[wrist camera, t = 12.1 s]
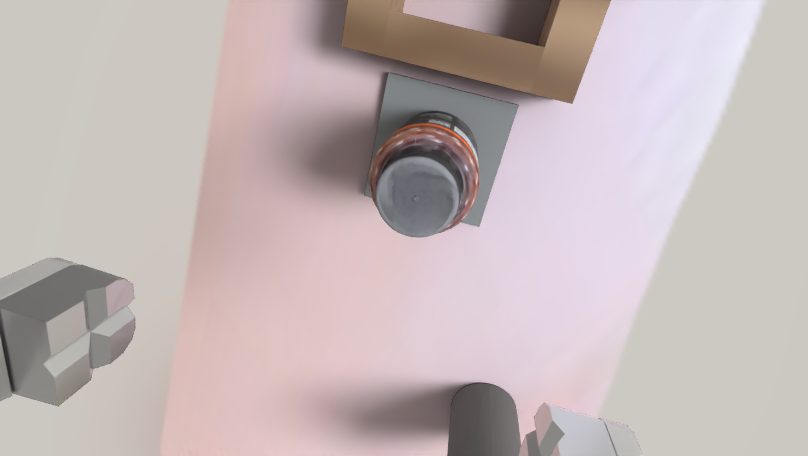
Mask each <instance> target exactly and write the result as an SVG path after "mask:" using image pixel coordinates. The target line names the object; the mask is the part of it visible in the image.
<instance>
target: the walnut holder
mask: <svg viewBox="0 0 808 456" xmlns="http://www.w3.org/2000/svg"><path fill="white" fill-rule="evenodd" d="M610 1H611V0H552V1H551V4H550V7H549V10H548V13H547V16H546V19H545V22H544V25H543V28H542V31H541V34H540V38H539V41H538V44H537V45H533V44H529V43H524V42H520V41H516V40H512V39H508V38H504V37H500V36H496V35H491V34H487V33H483V32H479V31H475V30H471V29H467V28H463V27H458V26H454V25H450V24H446V23H442V22H438V21H434V20H430V19H425V18H421V17H417V16H413V15H409V14H405V13H402V12H403V7H404V2H405V0H348V3H347V9H346V16H345V22H344V29H343V35H342V42H341V46H343V47H347V48H351V49H355V50H359V51H363V52H367V53H371V54H375V55H379V56H383V57H387V58H391V59H395V60H399V61H403V62H407V63H411V64H415V65H419V66H423V67H427V68H431V69H435V70H439V71H443V72H447V73H451V74H455V75H459V76H463V77H467V78H471V79H475V80H479V81H483V82H487V83H491V84H495V85H499V86H503V87H507V88H511V89H515V90H519V91H523V92H527V93H531V94H535V95H539V96H543V97H547V98H551V99H555V100H559V101H563V102H567V103H571V104H572V103H573V100H574V98H575V95H576V92H577V90H578V87H579V84H580V82H581V79H582V76H583V74H584V71H585V68H586V66H587V63H588V60H589V58H590V55H591V52H592V50H593V47H594V44H595V42H596V39H597V36H598V34H599V31H600V28H601V25H602V23H603V20H604V17H605V15H606V12H607V9H608V7H609V4H610Z"/></svg>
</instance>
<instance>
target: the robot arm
mask: <svg viewBox="0 0 808 456" xmlns="http://www.w3.org/2000/svg"><path fill="white" fill-rule="evenodd" d="M133 299H134V289H133V284H132V283H131V282H130V281H128V280H127V279H125V278H121V277H118V276H115V275H112V274H109V273H106V272H103V271H100V270H97V269H93V268H90V267H87V266H84V265H79V264H76V263H73V262H70V261H67V260H64V259H60V258H46V259H44V260H41V261H39V262H37V263H35V264H32V265H30V266H28V267H26V268H24V269H21V270H19V271H17V272H14V273H12V274H10V275H8V276H6V277H3V278H1V279H0V401H1V400H4V399H6V398H9V397H11V396H12V393H13V394H17V395H20V396H24V397H27V398H31V399H34V400H38V401H41V402H45V403H48V404H52V405H55V406H59V405H60V404H62V403H63V402H64V401H65V400H67V399H68V398H69V397H70V396H72V395H73V394H74V393H75V392H77V391H78V390H79V389H80V388H81V387H83V386H84V385H85V384H86V383H88V382H89V381H90V380H91V378H92V373H93V369H95V368H98V367H101V366H104V365H107V364H110V363H112V362H113V361H114V360H115V359H117V358H118V357H119V356H120V355H121V354H122V353H123V352H124V351H125V349H126V348H127V346H128V345H129V343H130V342H131V340H132V338H133V334H134V331H135V316H134V315H133V313H132V312H131V310H130V309H129V307H128V305H129V304H130V303H131V302H132V300H133ZM534 420H535V427H536V430H535V431H533V432H531V433H529V434H527V435H526V436H525V438H524V440H523V443H522V445H521V447H520V452H519V456H644V454H643V452H642V450H641V448H640V445H639V443H638V441H637V438H636V436H635V434H634V432H633V431H632V430H631V428H629V426H628V425H624V424H620V423H617V422H613V421H609V420H605V419H602V418H596V417H592V416H589V415H586V414H582V413H579V412H575V411H572V410H568V409H565V408H561V407H558V406H554V405H551V404H547V403H543V404H542V405H541V406H540V407H539V409H538V411H537V413H536V415H535V417H534Z"/></svg>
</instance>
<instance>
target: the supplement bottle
mask: <svg viewBox="0 0 808 456" xmlns="http://www.w3.org/2000/svg"><path fill="white" fill-rule="evenodd" d="M369 189H370V193H371V196H372V199H373V201H374V203H375V205H376V207H377V209H378V210H379V213H380V215H381V217H382V218H383V219H384V221H385V222H386V223H387V224H388V225H389V226H390V227H391V228H392V229H393V230H395V231H397V232H398V233H401V234H403V235H406V236H410V237H428V236H431V235H434V234H437V233H441V232H444V231H447V230H449V229H451V228H453V227H454V226H456V225H457V224H459V223H460V222H461V221H462V220H463V219H464V218H465V217H466V216H467V215H468V213H469V212H470V210H471V209H472V207H473V205H474V203H475V200H476V197H477V194H478V189H479V164H478V149H477V144H476V141H475V138H474V136H473V133H472V132H471V130H470V129H469V127H468V126H467V125H466V124H465V123H464V122H463V121H462V120H461V119H460V118H458V117H456V116H454V115H452V114H450V113H447V112H443V111H428V112H423V113H420V114H418V115H416V116H414V117H412V118H411V119H409V120H408V121H407V122H406V123H405V124H404V125H403V126H401V127H400V128H399V129H398V130H397V131H396V132H395V133H394V134H392V135H391V136H390V137H389V138H388V139H387V140H386V141H385V142H384V143H383V144H382V145H381V146H380V147H379V149H378V150H377V152H376V154H375V156H374V158H373V160H372V163H371V167H370V172H369Z"/></svg>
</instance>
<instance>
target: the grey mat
mask: <svg viewBox="0 0 808 456" xmlns="http://www.w3.org/2000/svg"><path fill="white" fill-rule="evenodd" d="M518 106H519V105H517V104H513V103H509V102H505V101H501V100H497V99H493V98H489V97H485V96H481V95H478V94H474V93H470V92H466V91H462V90H458V89H454V88H450V87H446V86H442V85H438V84H434V83H430V82H426V81H422V80H418V79H414V78H410V77H406V76H402V75H398V74H394V73H388V78H387V83H386V88H385V93H384V98H383V103H382V108H381V113H380V118H379V123H378V128H377V133H376V138H375V143H374V148H373V153H372V158H371V163H372V160H373V158H374V156H375V154H376V152H377V150H378V149H379V147H380V146H381V145H382V144H383V143H384V142H385V141H386V140H387V139H388V138H389V137H390V136H391V135H392V134H394V133H395V132H396V131H397V130H398V129H399V128H400V127H401V126H403V125H404V124H405V123H406V122H407V121H408V120H409V119H411V118H412V117H414V116H416V115H418V114H420V113H423V112H428V111H443V112H447V113H450V114H452V115H454V116H456V117H458V118H460V119H461V120H462V121H463V122H464V123H465V124H466V125H467V126H468V127H469V129H470V130H471V132H472V133H473V136H474V138H475V141H476V144H477V149H478V164H479V189H478V194H477V197H476V200H475V203H474V205H473V207H472V209H471V210H470V212H469V213H468V215H467V216H466V217H465V218H464V219H463V220H462V221H461V222H463V223H467V224H470V225H474V226H478V227H479V226H480V223H481V220H482V216H483V213H484V210H485V207H486V204H487V201H488V198H489V195H490V192H491V189H492V186H493V183H494V180H495V176H496V173H497V170H498V167H499V164H500V161H501V158H502V155H503V152H504V149H505V146H506V143H507V140H508V136H509V133H510V130H511V127H512V124H513V121H514V118H515V115H516V112H517V109H518ZM371 163H370V167H371ZM369 172H370V168H369ZM364 196H368V197H371V198H372V196H371V193H370V189H369V173H368V178H367V183H366V188H365V193H364Z"/></svg>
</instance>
